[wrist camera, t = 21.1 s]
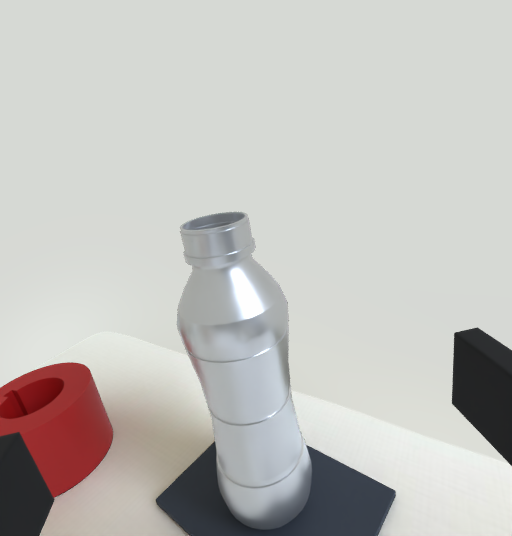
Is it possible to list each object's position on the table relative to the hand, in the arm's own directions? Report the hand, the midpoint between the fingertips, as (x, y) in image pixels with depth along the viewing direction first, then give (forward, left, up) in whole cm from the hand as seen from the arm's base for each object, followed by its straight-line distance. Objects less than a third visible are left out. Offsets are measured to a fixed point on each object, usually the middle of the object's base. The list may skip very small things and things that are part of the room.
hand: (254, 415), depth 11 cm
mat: (+7, -6, -16) cm, 19 cm away
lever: (+30, +3, -16) cm, 34 cm away
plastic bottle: (+7, -6, -16) cm, 19 cm away
